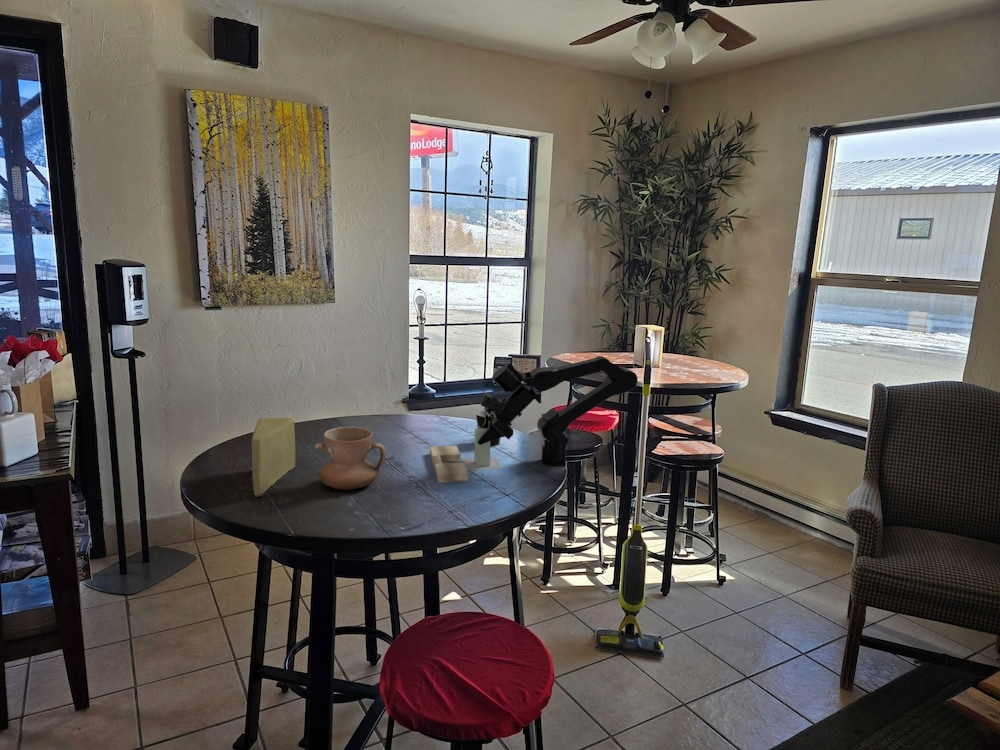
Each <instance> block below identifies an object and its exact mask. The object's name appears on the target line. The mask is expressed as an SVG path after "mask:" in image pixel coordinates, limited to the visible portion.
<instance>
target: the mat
mask: <svg viewBox="0 0 1000 750" xmlns="http://www.w3.org/2000/svg"><path fill="white" fill-rule="evenodd" d="M462 461H463V462H464V464H465V466H466V469H467V471H468V472H469V471H486V470H489V471H490V470H493V471H495V470H503V468H502V466H501V464H500V462H499V460H498V458H497V457H490V466H476V465H475V462H474V458H473V457H472V458H470V457H469V458H462Z"/></svg>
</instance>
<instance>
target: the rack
mask: <svg viewBox="0 0 1000 750" xmlns="http://www.w3.org/2000/svg"><path fill="white" fill-rule="evenodd" d="M429 454H430V455H429V456H430V458H431V462H432V465H433V469H434V472H435V475H436V479H437V483H452V482H454V483H456V482H469V470H468V471H467V469H466V466H465V463H464V461H463V462H461V453H460V451H459V447H458V446H457V445H443V446H442V445H441V446H440V445H439V446H438V445H437V446H436V445H435V446H429Z"/></svg>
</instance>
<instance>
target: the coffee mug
mask: <svg viewBox="0 0 1000 750" xmlns="http://www.w3.org/2000/svg"><path fill="white" fill-rule="evenodd" d="M485 413H486V414H488V412H486V411H485V409H484V410H480V411H477V412H476V413H475V415H476V426H477V429H481V428H482V426H483V424H484V422H485ZM500 440H501V438H498V439H495V440H492V441H490V447H495V446H498V445H500V442H501V441H500Z"/></svg>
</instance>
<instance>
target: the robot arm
mask: <svg viewBox="0 0 1000 750" xmlns="http://www.w3.org/2000/svg"><path fill="white" fill-rule="evenodd" d="M597 373H598V374H599V373H604V374H605V375H607V376H606V378H605V379H604V381H603V382H602V383H601V384H600V385H598V386H597V387H595V388H594V389H592V390H590V391H589V392H588V393H587V392H586V394H584V395H583V396H581V397H580V398H578V399H577V400H575V401H574V402H572V403H571V404H569V405H568V406H566V407H565V408H563V409H560V410H556V409H555V408H554V407H552V408H550V409H549V410H548V411H546V412H545V413H542V414H541V416H540V418H538V420H537V424H536V426H537V430H538V432H539V433H540V434H541V435H542V436H543V439H544V440H543V444H542V445H541V461H542V463H543V465H544V466H545V465H547V466H548V465H549V466H566V465H567V461H566V455H567V454H566V453H567V452H566V451H567V445H568V442H569V441H570V439H569V438H568V437H567V436H566V435H565V432H566V431H567V429H568V428H569V426H570V425H571V424H572V423H573V422H575V421H576V420H578V419H579V418H580V417H582V416H584V415H585V414H587V413H588V412H590V411H591V410H592V409H594V408H596V407H597V406H599V405H600V404H602V403H604V402H605V401H607V400H608V399H609V398H611V397H613V396H614V397H615V396H618V395H622V394H625V393H627V392H630V391H632V390H634V389H635V388H636V387H637V385H638V380H639V379H638V375H637V374H636V373H635V372H634V371H632V370H630V369H629V368H627V367H623V366H618V365H616V364H614V363H613V362H611V361H610V360H609V359H608V358H606V357H604V356H603V355H598V356H596V357H593V358H590V359H589V358H588V359H585V360H581V361H578V362H574V363H570V364H566V365H561V366H556V367H555V366H543V367H535V368H533V369H532V370H531V371H526V372H518V370H517V369H516V368H515V367H514V366H513V364H511V362H507V363H506V364H505V365H502V366H501V367H499V368H498V369H497V370H496V371H495V372H494V373H493V375H492V377H491V379H492V380H493V381H494V382H495V383H496V384H497V385H498V387H500V388H501V390H502V391H504V393H508V392H509V393H510V395H509V396H508V397H506V396H505V397H502V399H500V398H498V397H497V396H495V395H491V394H490V393H486V392H483V394H482V396H481V398H480V400H479V403H480V406H481V407H484V408H483V409H484V410H485V411H486V412H488V414H486V413H485V422H484V424H483V426H482V428H488V429H487V430H486V431H485V432H484V434H483V435H482V436H481V438H480V439H479V440H478V444H479V445H481V444H484V443H487V442H489V441H492V440H495V439H498V438H500V439H501V438H506V440H507V439H508V440H510V438H512V437H513V436H514V429H513V428H512V425H513V424H512V422H513V421H514V420H516V418H517V417H519V418H520V417H521V416H522V415H523V413H522V412H523V411H524V410H525V409H526V408H527V407H528V406H529V405H530V404H531V403H532V402H533V401H534V400H535V401H536V402H537V403H538V404H542V396H543V395H542V393H541V392H547V391H549V390H551V389H553V388H555V387H557V386H558V385H560V384H561V383H563V382H565V381H570V380H574V379H578V378H581V377H585V376H589V375H593V374H597ZM522 382H523V383H524V384H526V385H527V386H526V385H524V384H523V383H522ZM532 387H533V388H534V389H533V388H532ZM535 389H536V391H535ZM537 391H539V392H537Z"/></svg>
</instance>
